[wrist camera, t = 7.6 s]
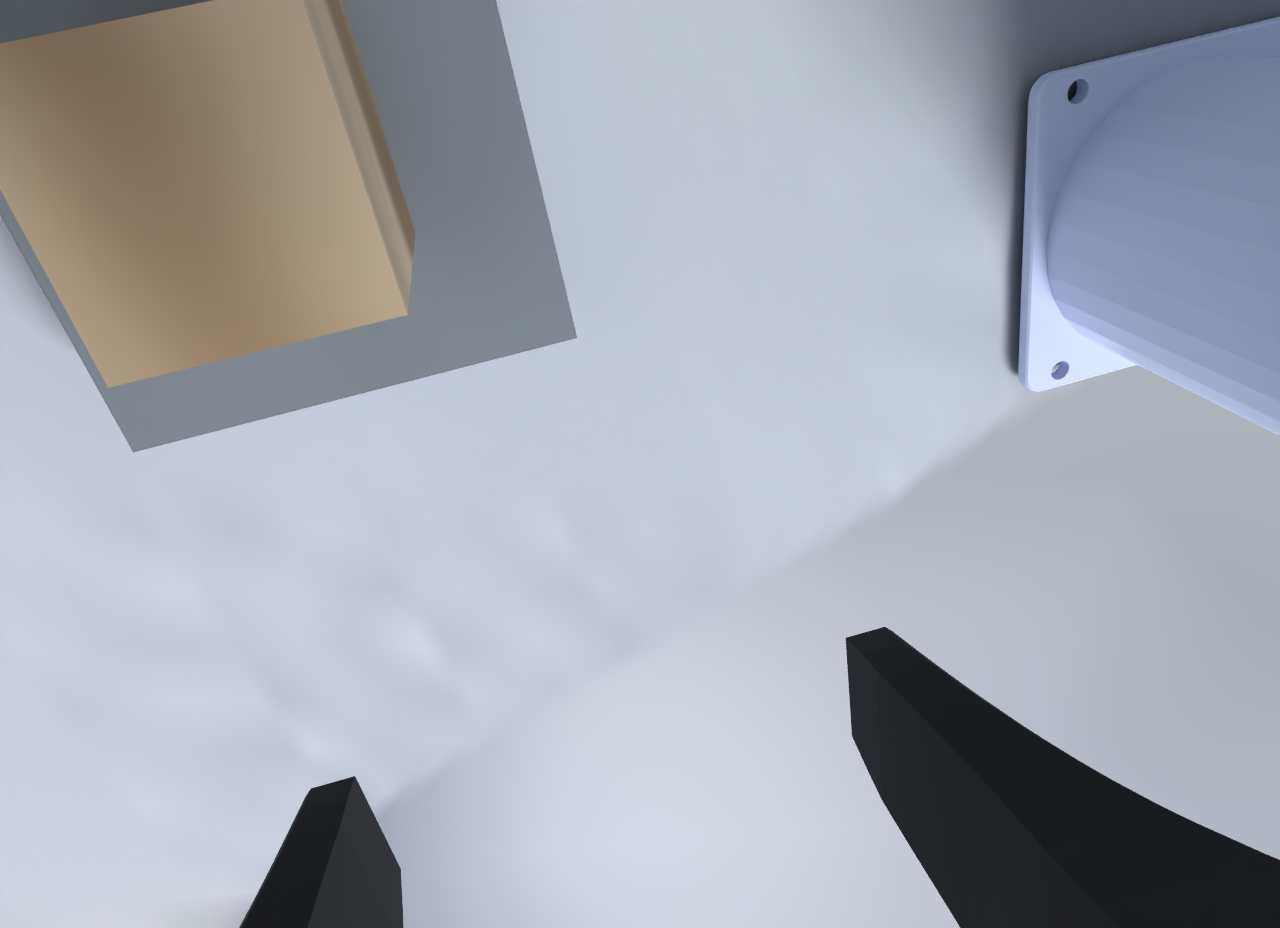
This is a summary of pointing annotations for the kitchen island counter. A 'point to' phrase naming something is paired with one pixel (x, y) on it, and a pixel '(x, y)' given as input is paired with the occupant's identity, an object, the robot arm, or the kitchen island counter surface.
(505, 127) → the slate base
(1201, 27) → the kitchen island counter surface
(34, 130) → the oak block
